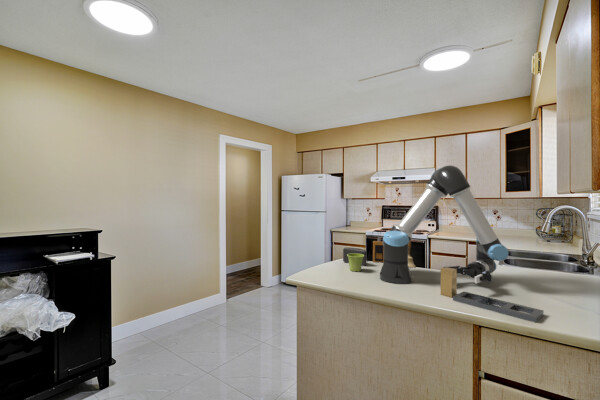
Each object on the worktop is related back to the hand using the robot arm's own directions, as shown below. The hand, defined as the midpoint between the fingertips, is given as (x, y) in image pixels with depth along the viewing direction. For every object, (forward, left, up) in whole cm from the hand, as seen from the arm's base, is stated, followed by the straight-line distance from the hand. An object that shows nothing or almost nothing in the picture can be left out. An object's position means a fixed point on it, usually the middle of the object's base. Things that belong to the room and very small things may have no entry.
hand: (458, 276), depth 126 cm
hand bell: (-39, +26, -7) cm, 48 cm away
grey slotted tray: (+17, -9, -6) cm, 20 cm away
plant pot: (-51, -8, -7) cm, 52 cm away
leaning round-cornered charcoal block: (-62, +4, -7) cm, 63 cm away
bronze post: (0, -9, -6) cm, 11 cm away
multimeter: (-59, +24, -7) cm, 65 cm away
